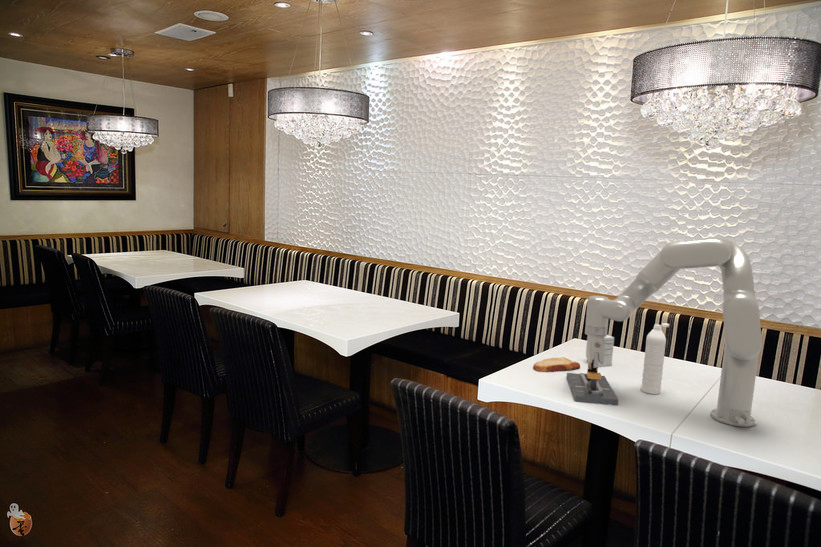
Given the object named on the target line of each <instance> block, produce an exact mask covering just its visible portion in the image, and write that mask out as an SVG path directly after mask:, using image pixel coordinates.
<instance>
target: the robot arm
mask: <svg viewBox="0 0 821 547" xmlns="http://www.w3.org/2000/svg"><path fill="white" fill-rule="evenodd" d="M710 267H712V268H713V267H718V268H720V273H721V282H722V290H723V293H722V294H723V301H722V317H723V328H724V329H723V330H724V347H723V355H722V356H723V358H722V364H721V365H722V366H721V370H720V371H721V374H720V380H719V381H720V382H719V388H718V397H717V405H716V408H715V409H712V410H711V411H710V416H711V417H712V418H713V419H715V420H716V421H718V422H720V423H723V424H727V425H731V426H733V427H734V426H735V427H741V428H742V427H746V428H747V427H753V426H755V425H756V422H757V421H756V418H754V417H753V416H752V415H751V414H752V407H753V402H754V401H753V399H754V392H755V385H756V377H757V372H758V365H759V364H758V362H759V354H760V353H761V351H762V347H763V342H762V329H761V328H762V326H761V318H760V308H759V304H758V301H757V297H756V293H755V281H754V276H753V275H754V274H753V269H752V268H753V267H752V264H751V260H750V259H749V256H748V255H747V253H746V252H745V250H744V249H743V248H742V247H741V245H739V244H738V243H736V242H734V241H732V240H729V239H728V238H724V237H719V236H714V237H710V238H708V239H701V240H692V241H691V240H690V241H679V240H674V241H670V242H668V243H667V244H665V245H664V246H663V247H662V249H661V250H660V251H658V253H657V254H656V255H655V256H654V257H653V258H652V259H651V260H650V261H649V262H648V263H647V264H646V265H645V266H644V267H643V268H642V269H641V270H640V271H639V272H638V273H637V275H636V277H635V279H634V280H633V281H632V283H630V285H628V286H627V288H625V290H624V291H623V292H622V293H621V294H619V295H618V296H617V297H616V298H615V299H610V298H608V297H607V296H603V295H590V296H589V297H588V298H587V304H586V317H585V327H584V328H585V329H584V334H585V335H587V337H586V345H585V346H586V348H585V349H586V350H585V358H586V359H588V362H587V372H596V373H599V372H598V370H599V369H598V368H599V367H598V362H600V363H601V364H603V363H604V345H605V341H604V337H606V336H607V335H608V328H609V327H608V326H609V320H612V321H615V322H625V321H626V320H627V319H628V320H629V318H630V317H631V316H632V315H633V314H634V313H635V311H637V310H638V308H640V306H642V304H643V303H644V302H645V301H646V300H648V299H649V298H650V297H651V296H652V295H653V294H655V293H657V292H658V291H660V289H662V288H663V286H665V285H666V284H667V283H668V282H669V281H670V279H672V278H673V277H674V276H675V275H676V274H677V273H678V272H679V271H680V270H682V269H696V268H710ZM587 372H586V373H587ZM587 380H588V381H590V380H591V379H588V377H587Z"/></svg>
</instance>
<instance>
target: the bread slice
mask: <svg viewBox="0 0 821 547" xmlns="http://www.w3.org/2000/svg"><path fill="white" fill-rule="evenodd" d="M580 367H581V364H580V363H579V361H578V362H577V361H573V360H570V359H568V358H566V357H563V356H562V357H551V358H545V359H542V360H540V361H536V362H535V363H534V364H533V367H532V370H533V371H535V372H538V373H554V372H555V373H556V372H566V371H574V370H576V369H579V368H580Z"/></svg>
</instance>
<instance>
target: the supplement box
mask: <svg viewBox="0 0 821 547" xmlns="http://www.w3.org/2000/svg"><path fill="white" fill-rule="evenodd" d="M604 341H605V345H604V363H603V364H601V363H600V362H598V368H603V367H605V368H606V366H607V367H612V364H613V363H612V362H613V353H614V344H615V336H612V335H608V334H607V336H606V337H604ZM586 359H587V358H586ZM586 361H587V363H588V359H587V360H586Z"/></svg>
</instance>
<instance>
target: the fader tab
mask: <svg viewBox="0 0 821 547" xmlns="http://www.w3.org/2000/svg"><path fill="white" fill-rule="evenodd" d="M586 374H587V377H588V379H591V380H590V388H591V390H596V384H597V379H599V380H601V376H602V374H601V372H597V373H596V372H586Z"/></svg>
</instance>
